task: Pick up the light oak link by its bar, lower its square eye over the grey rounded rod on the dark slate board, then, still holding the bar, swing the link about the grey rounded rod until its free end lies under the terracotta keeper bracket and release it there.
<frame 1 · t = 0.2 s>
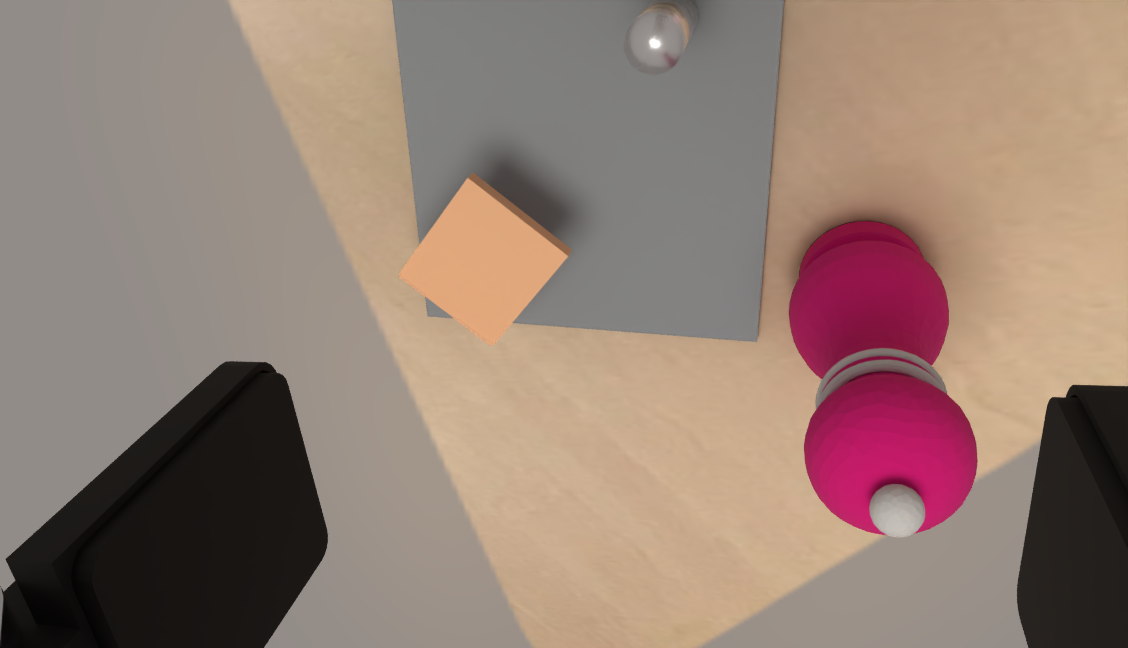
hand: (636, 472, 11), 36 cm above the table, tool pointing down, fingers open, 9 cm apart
pepper mill: (860, 274, 47), on the table
grey rounded rod: (664, 29, 40), on the board, point 4 cm above the table
keeper: (495, 245, 47), resting on board
board: (582, 55, 45), on the table
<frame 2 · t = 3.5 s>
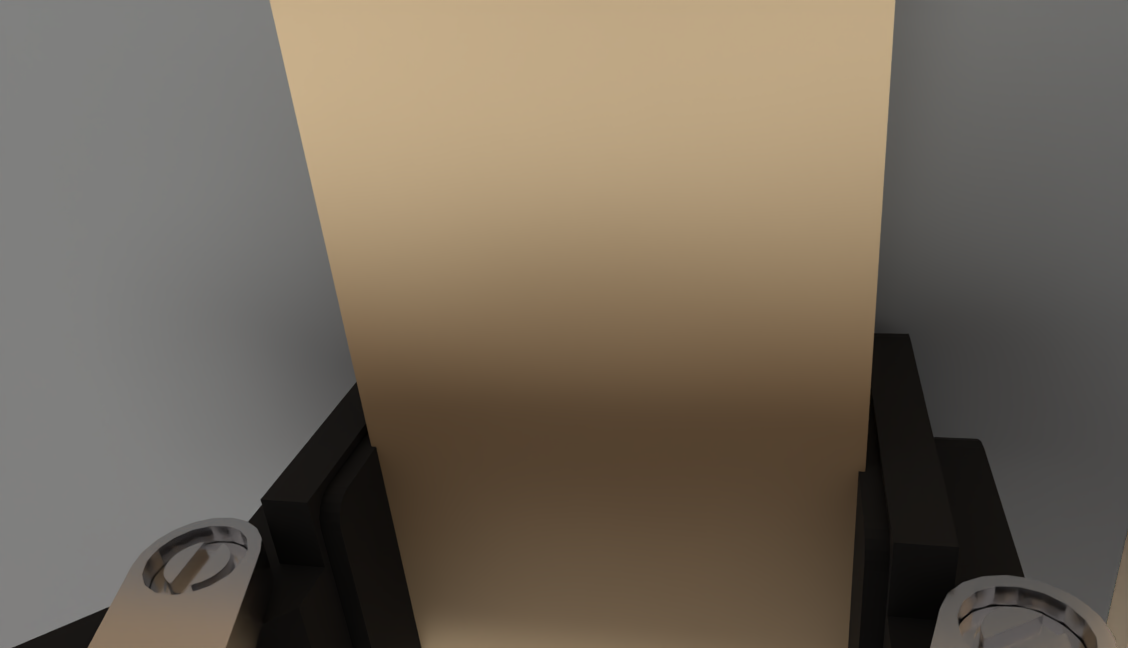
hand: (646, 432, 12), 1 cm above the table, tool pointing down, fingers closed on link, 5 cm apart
board: (157, 499, 16), on the table
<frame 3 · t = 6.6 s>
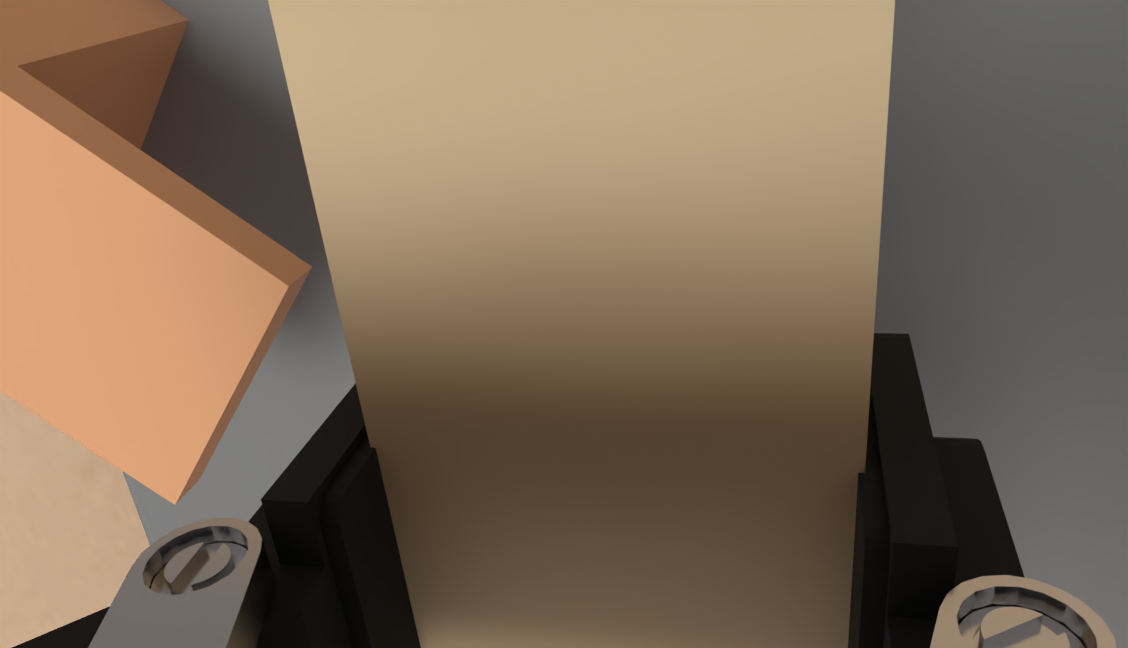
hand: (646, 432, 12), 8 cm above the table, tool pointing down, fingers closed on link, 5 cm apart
keeper: (159, 226, 19), resting on board
board: (636, 348, 21), on the table
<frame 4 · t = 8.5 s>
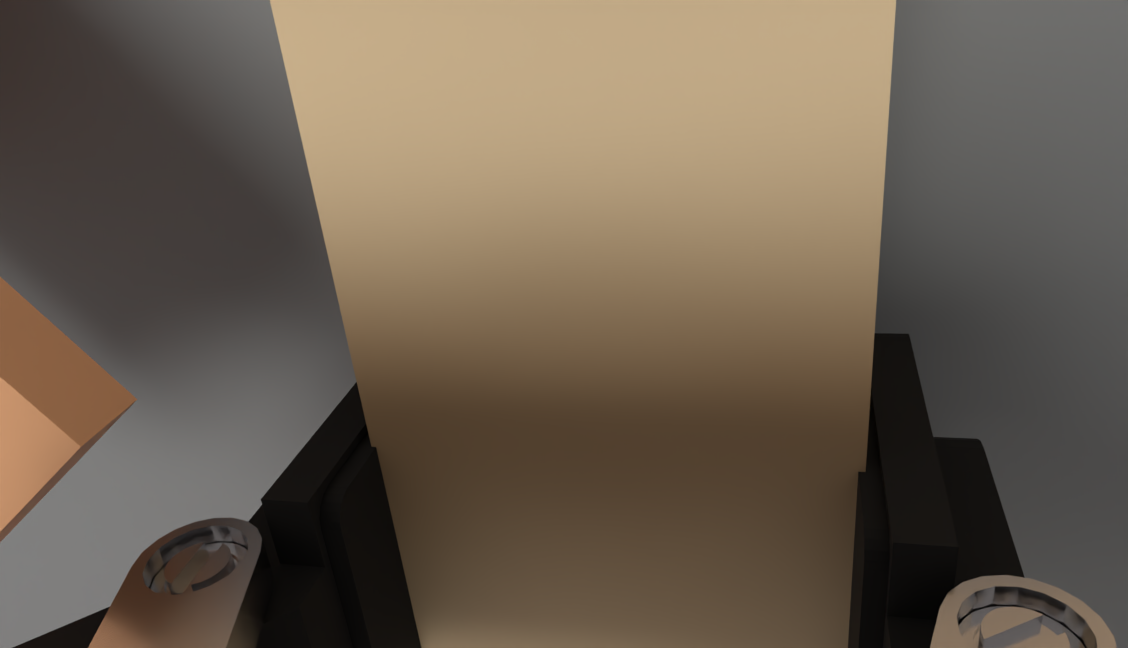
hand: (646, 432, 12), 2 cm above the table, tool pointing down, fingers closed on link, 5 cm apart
board: (611, 506, 15), on the table
when the fingers open (2 cm above the table, at t = 10.0 s): link stays where it is, resting on board.
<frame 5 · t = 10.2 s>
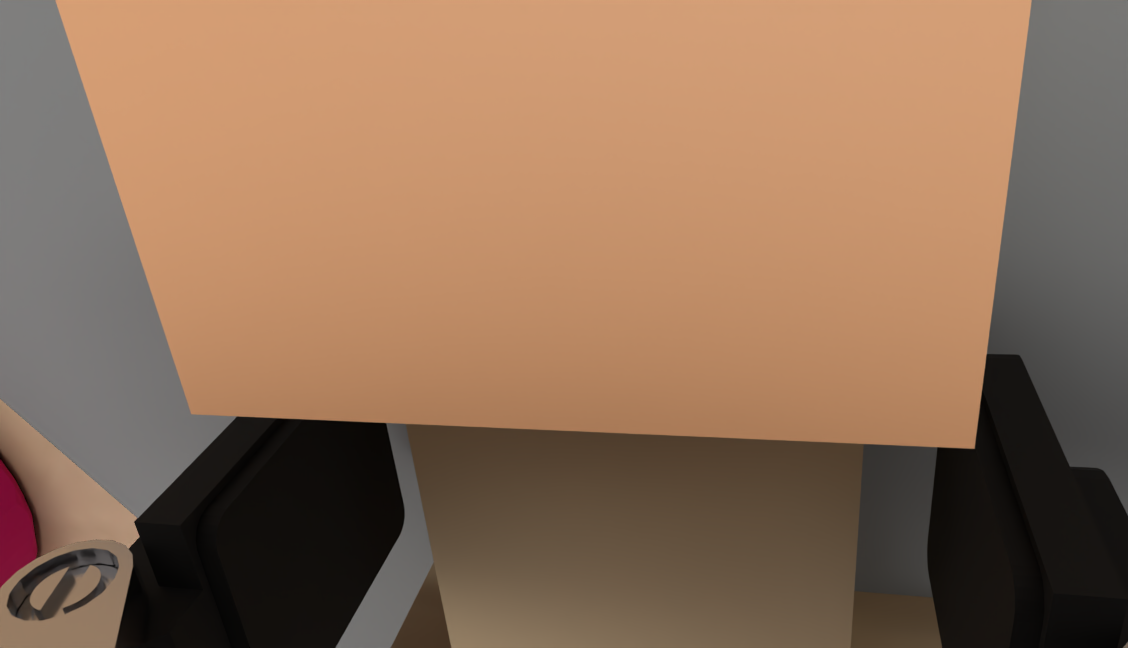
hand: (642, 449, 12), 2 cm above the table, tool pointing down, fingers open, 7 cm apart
board: (818, 544, 14), on the table
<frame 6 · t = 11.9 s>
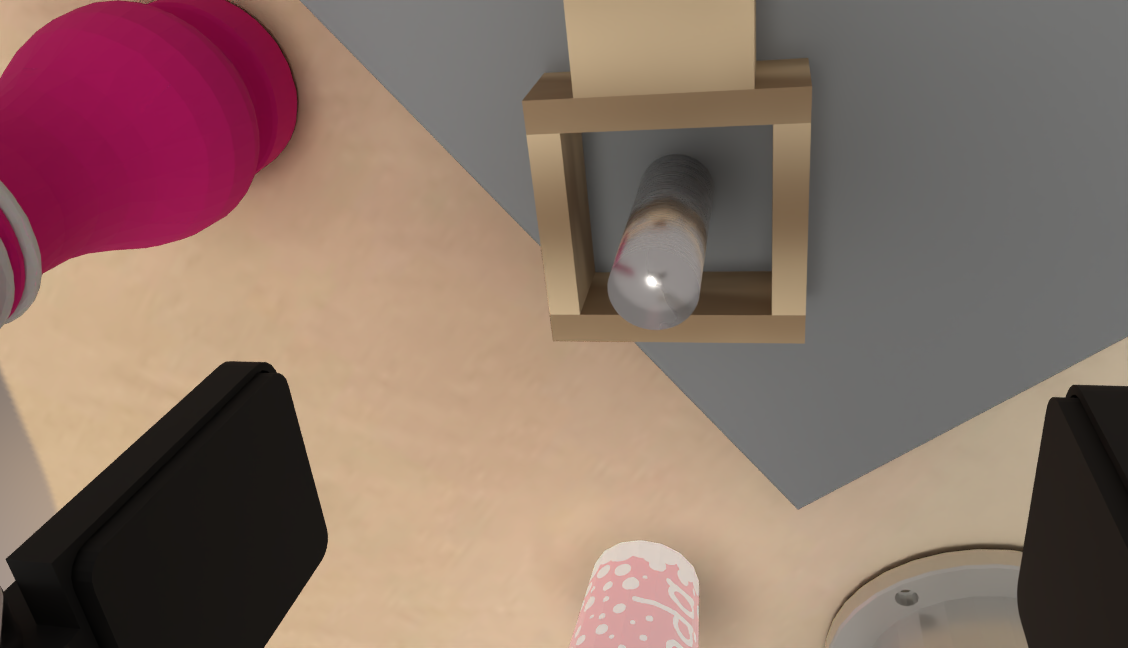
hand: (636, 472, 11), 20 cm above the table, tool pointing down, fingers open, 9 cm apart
pepper mill: (217, 84, 32), on the table
grey rounded rod: (666, 234, 27), on the board, point 4 cm above the table
beverage cup: (646, 576, 40), on the table
board: (748, 44, 27), on the table
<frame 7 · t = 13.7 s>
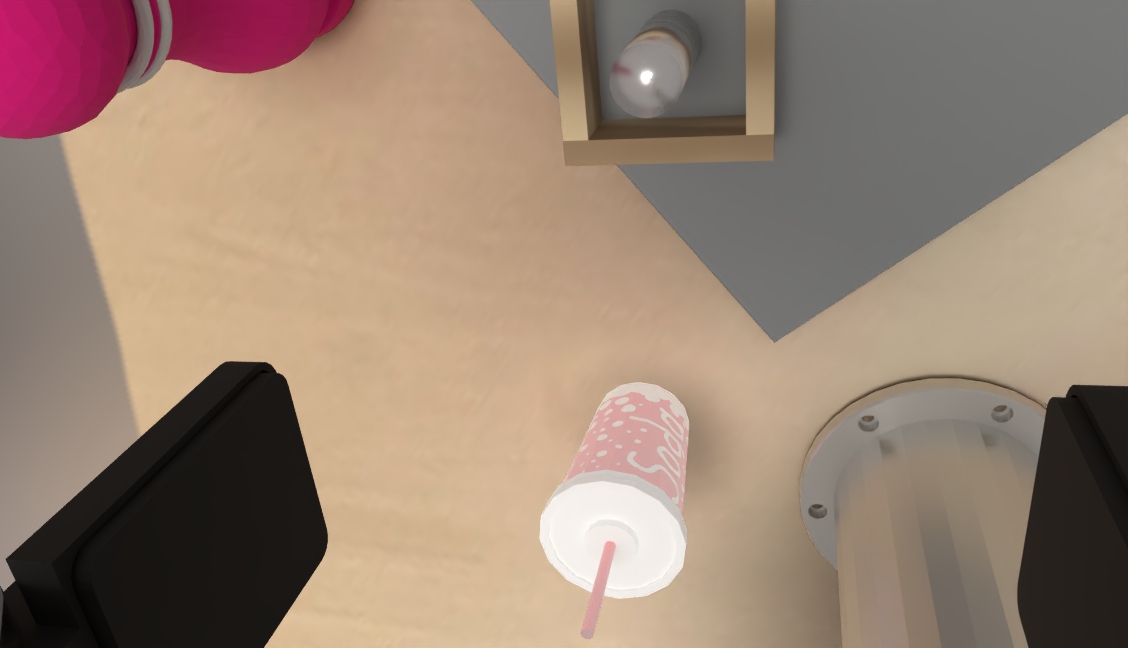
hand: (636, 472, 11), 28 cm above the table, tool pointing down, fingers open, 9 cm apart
grey rounded rod: (659, 59, 33), on the board, point 4 cm above the table
beverage cup: (643, 419, 45), on the table
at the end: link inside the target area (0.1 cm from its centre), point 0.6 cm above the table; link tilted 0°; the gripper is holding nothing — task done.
